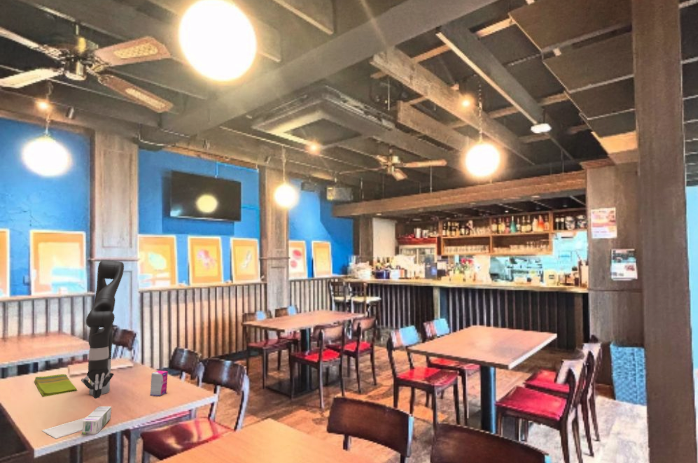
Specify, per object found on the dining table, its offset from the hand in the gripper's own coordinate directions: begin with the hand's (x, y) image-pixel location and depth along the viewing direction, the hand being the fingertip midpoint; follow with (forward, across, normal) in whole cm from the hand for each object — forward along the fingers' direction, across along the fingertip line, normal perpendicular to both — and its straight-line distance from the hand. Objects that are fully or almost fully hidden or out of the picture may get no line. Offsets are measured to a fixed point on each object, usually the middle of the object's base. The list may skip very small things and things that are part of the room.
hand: (96, 397), depth 177 cm
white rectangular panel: (+10, +8, -1) cm, 13 cm away
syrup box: (+7, -3, +2) cm, 7 cm away
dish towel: (+11, -12, -71) cm, 73 cm away
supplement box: (+10, -36, -11) cm, 39 cm away
